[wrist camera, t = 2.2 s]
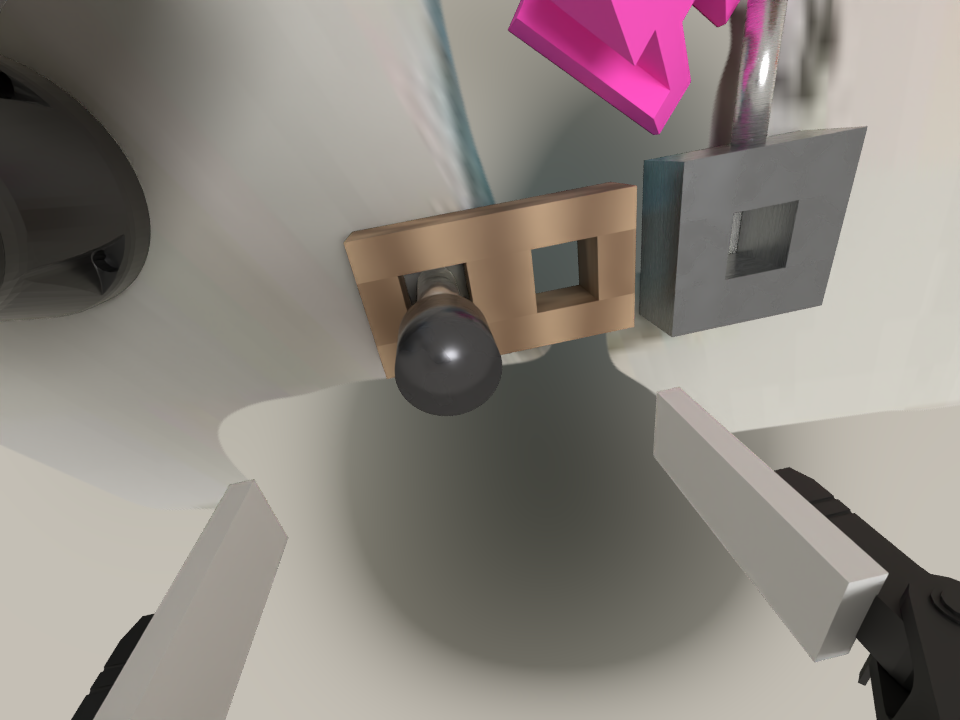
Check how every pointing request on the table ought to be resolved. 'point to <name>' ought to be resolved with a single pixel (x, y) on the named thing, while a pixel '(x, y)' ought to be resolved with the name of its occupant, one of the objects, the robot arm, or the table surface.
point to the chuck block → (745, 207)
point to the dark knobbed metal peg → (445, 349)
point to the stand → (509, 266)
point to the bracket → (619, 48)
